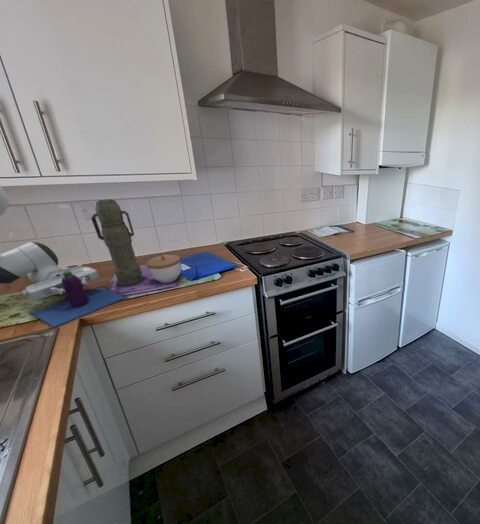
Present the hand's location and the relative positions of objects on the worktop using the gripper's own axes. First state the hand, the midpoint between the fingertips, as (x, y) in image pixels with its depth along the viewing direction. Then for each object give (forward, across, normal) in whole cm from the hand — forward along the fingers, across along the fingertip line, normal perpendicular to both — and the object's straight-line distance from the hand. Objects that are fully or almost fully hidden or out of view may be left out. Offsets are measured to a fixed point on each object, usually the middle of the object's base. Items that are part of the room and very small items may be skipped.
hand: (74, 287), depth 108 cm
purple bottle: (-1, 0, +6) cm, 7 cm away
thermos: (-5, +20, +8) cm, 22 cm away
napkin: (-1, 0, +8) cm, 8 cm away
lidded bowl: (+7, +29, +8) cm, 31 cm away
